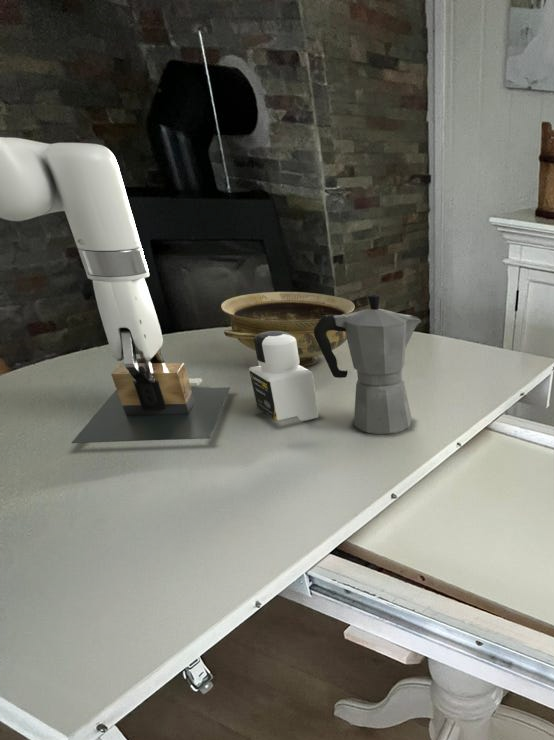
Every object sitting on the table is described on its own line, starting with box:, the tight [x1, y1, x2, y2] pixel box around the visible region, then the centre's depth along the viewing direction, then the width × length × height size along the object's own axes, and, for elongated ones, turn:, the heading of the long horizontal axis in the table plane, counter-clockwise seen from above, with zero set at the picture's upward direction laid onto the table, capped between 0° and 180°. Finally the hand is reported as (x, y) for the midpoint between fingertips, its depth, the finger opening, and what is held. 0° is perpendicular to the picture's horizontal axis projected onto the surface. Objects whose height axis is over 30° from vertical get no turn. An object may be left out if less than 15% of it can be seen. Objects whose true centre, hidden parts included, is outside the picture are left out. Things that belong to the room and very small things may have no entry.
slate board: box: [71, 386, 231, 444], centre depth 90 cm, size 18×22×1 cm
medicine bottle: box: [248, 331, 319, 422], centre depth 90 cm, size 7×7×12 cm
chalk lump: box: [188, 377, 203, 387], centre depth 101 cm, size 2×2×2 cm
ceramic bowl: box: [220, 291, 356, 367], centre depth 113 cm, size 30×24×10 cm
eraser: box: [110, 362, 195, 416], centre depth 89 cm, size 9×5×6 cm, turn 101°
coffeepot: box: [314, 293, 422, 435], centre depth 87 cm, size 15×9×18 cm, turn 110°
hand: (158, 401), depth 90 cm, fingers closed on eraser, 5 cm apart
